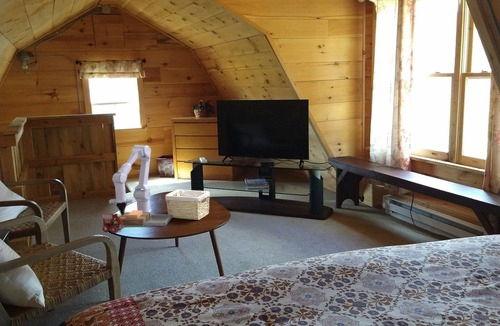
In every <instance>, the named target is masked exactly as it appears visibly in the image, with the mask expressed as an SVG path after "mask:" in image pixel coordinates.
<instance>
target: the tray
mask: <svg viewBox="0 0 500 326" xmlns="http://www.w3.org/2000/svg"><path fill="white" fill-rule="evenodd" d="M150 216H151V218H150V219H149V220H148V221H147V222H144V226H143V227H166V226H167V225H168V224H169V223H170V221H172V219H173V218H172V214H168V213H167V214H166V213H164V214H163V213H161V214H159V213H158V214H155V213H154V214H153V213H152V214H151V213H150Z"/></svg>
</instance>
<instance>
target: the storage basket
mask: <svg viewBox="0 0 500 326" xmlns="http://www.w3.org/2000/svg"><path fill="white" fill-rule="evenodd" d="M210 195H211V194H210V191H208V190H206V191H205V190H191V189H179V188H178V189H176V190H174V191H171V192H169V193H167V194H165V202H166V207H167V214H172V219H173V218H175V219H183V220H195V221H197V220H198V221H199V220H201V219H202V218H204V217H206V216H207V215H208V214H209V213H210V211H209V210H210Z"/></svg>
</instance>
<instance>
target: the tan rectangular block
mask: <svg viewBox="0 0 500 326" xmlns="http://www.w3.org/2000/svg"><path fill="white" fill-rule="evenodd" d="M129 212H130V213H129V214H128V218H138V217H139V216H140V215H142V214H143V212H142V210H135V209H134V210H132V211H129Z"/></svg>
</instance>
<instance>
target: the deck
mask: <svg viewBox="0 0 500 326" xmlns="http://www.w3.org/2000/svg"><path fill="white" fill-rule="evenodd" d="M130 212H131V211H129V212H126V211H125V212H124V215H121V214H120V216H119V217H120V218H121V220H122V222H123V227H145V226H144V222H147V221H148V220H149V219H150V218H151V212H143V214H142V215H140V216H139V217H138V218H128V214H129V213H130Z"/></svg>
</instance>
